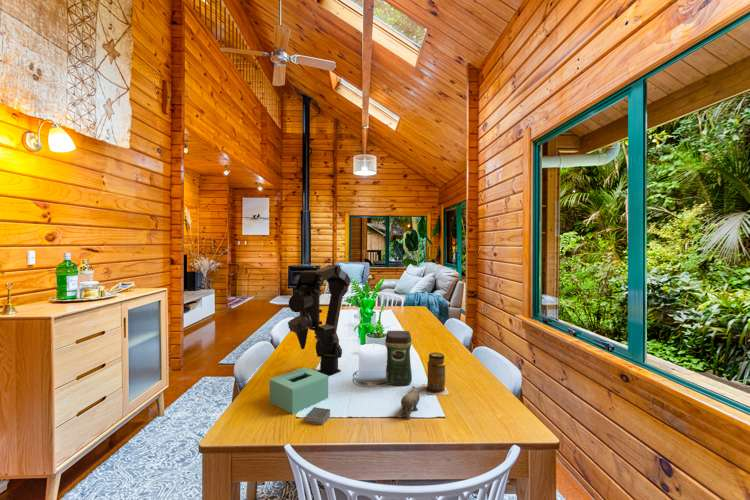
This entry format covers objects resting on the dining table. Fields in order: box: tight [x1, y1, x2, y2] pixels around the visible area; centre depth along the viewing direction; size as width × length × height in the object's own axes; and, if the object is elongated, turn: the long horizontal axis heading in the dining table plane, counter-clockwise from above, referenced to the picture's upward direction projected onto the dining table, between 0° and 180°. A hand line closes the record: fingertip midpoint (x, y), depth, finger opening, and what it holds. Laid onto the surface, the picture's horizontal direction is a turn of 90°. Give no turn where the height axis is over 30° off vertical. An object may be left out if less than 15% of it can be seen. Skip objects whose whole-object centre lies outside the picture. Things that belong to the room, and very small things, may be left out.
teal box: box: [268, 366, 329, 415], centre depth 113 cm, size 14×12×7 cm
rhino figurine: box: [400, 385, 423, 420], centre depth 107 cm, size 4×14×6 cm, turn 155°
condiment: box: [423, 351, 450, 396], centre depth 121 cm, size 7×8×12 cm
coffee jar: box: [384, 330, 413, 386], centre depth 128 cm, size 10×8×19 cm
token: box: [305, 406, 331, 426], centre depth 101 cm, size 5×5×2 cm
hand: (311, 351), depth 123 cm, fingers open, 9 cm apart
